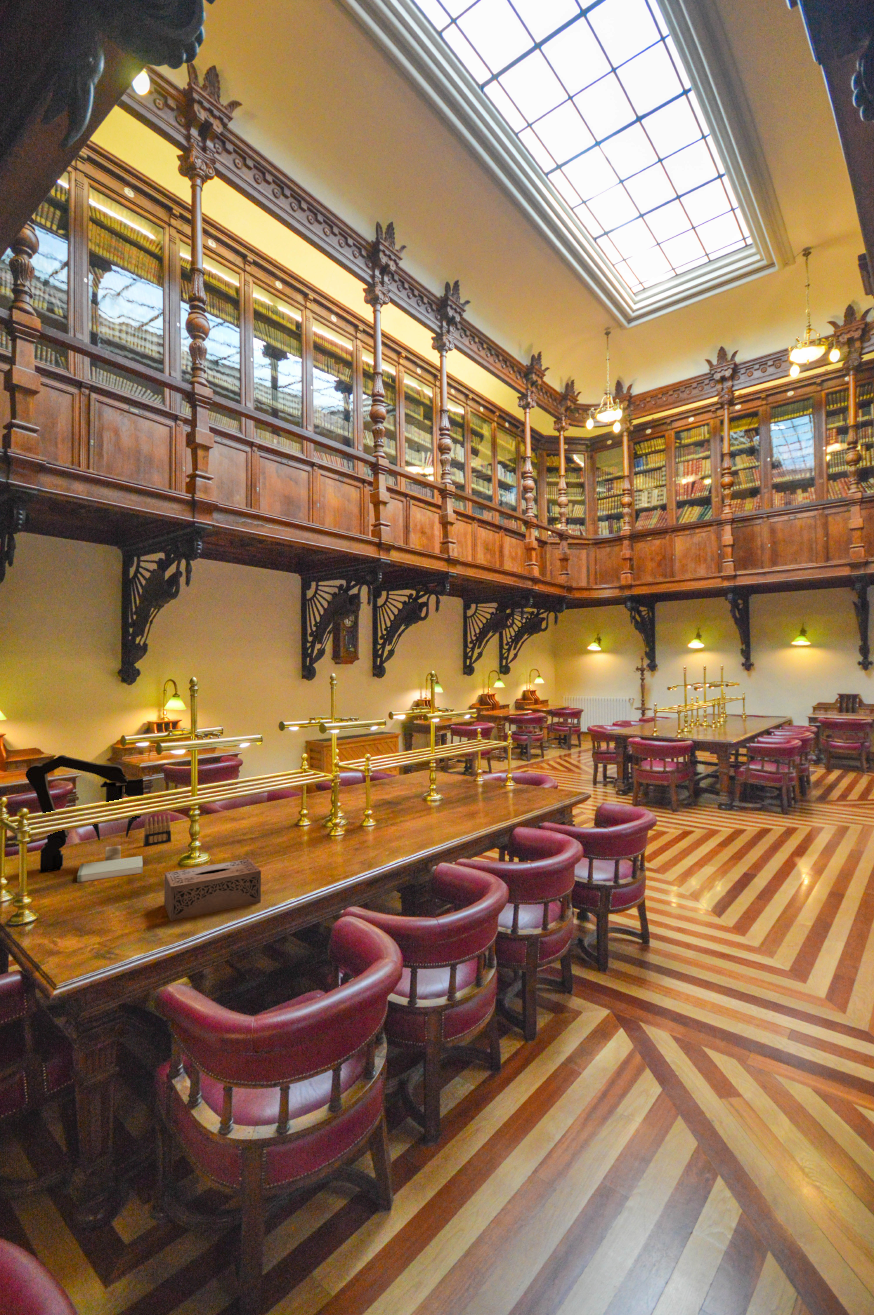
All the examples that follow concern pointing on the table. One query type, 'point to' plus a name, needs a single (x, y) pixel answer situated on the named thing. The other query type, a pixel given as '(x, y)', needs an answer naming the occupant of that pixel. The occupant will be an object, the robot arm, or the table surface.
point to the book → (110, 868)
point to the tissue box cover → (211, 888)
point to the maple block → (112, 853)
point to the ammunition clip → (157, 836)
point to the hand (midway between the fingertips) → (113, 838)
